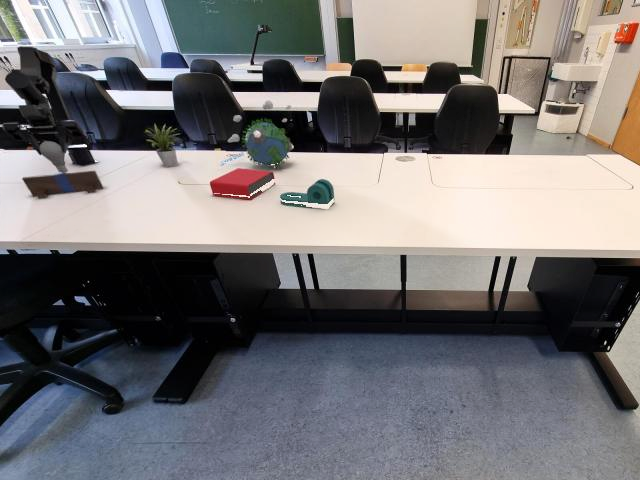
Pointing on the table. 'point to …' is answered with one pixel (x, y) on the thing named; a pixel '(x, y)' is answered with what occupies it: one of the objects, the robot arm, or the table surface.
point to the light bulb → (54, 155)
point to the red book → (241, 183)
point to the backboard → (63, 183)
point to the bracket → (311, 194)
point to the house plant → (164, 146)
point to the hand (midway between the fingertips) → (52, 153)
